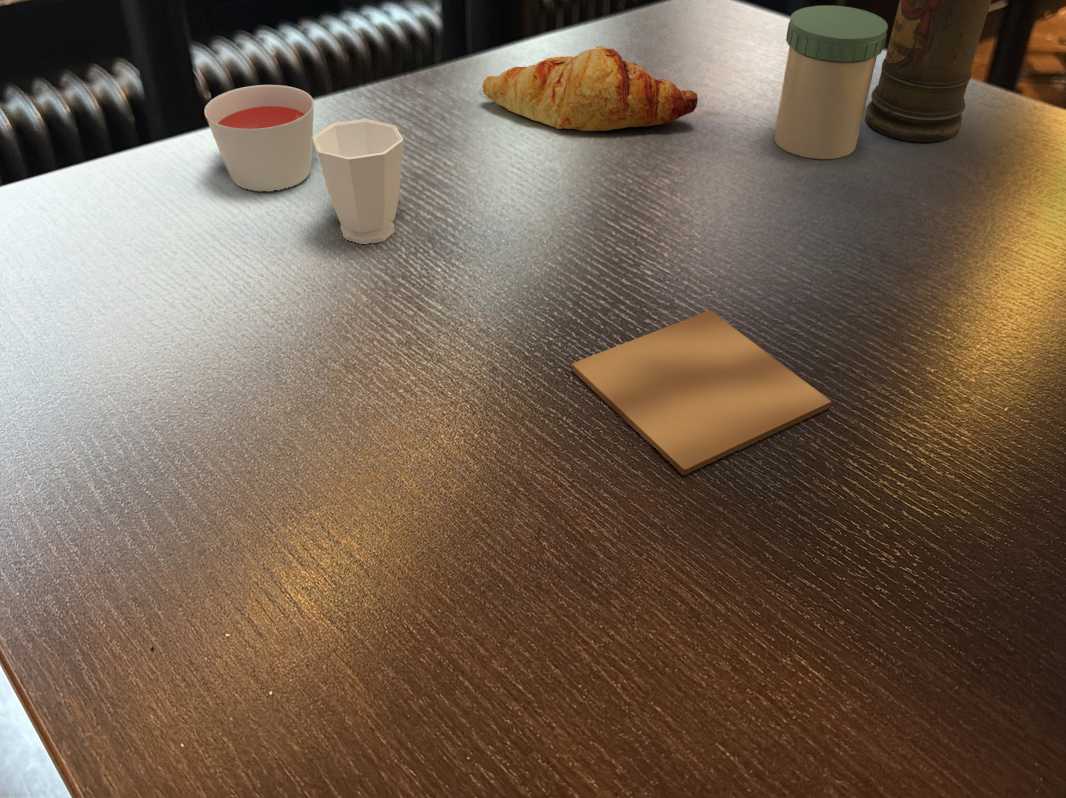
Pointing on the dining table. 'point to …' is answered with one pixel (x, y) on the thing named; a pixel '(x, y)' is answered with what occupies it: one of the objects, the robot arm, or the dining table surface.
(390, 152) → the cup
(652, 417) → the coaster
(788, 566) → the dining table surface
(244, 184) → the candle
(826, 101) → the jar
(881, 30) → the lid
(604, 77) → the croissant
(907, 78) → the container
